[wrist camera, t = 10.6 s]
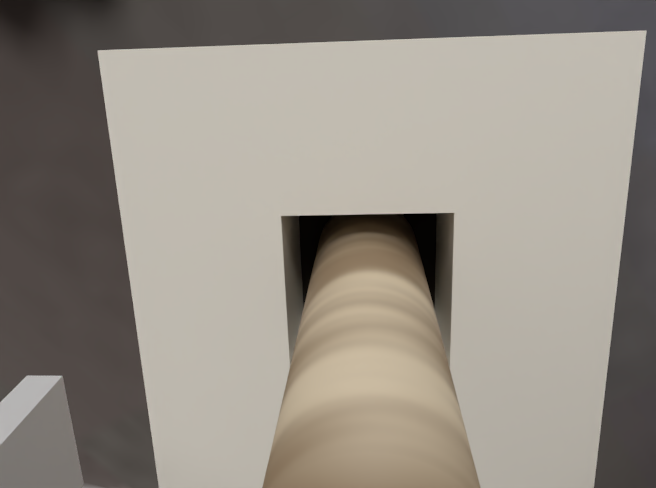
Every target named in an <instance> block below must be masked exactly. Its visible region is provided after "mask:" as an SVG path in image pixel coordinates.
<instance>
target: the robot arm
mask: <svg viewBox="0 0 656 488" xmlns="http://www.w3.org/2000/svg"><path fill="white" fill-rule="evenodd" d="M83 486H84V483H83V478H82V473H81V468H80V463H79V458H78V452H77V447H76V442H75V437H74V432H73V427H72V422H71V417H70V412H69V407H68V402H67V397H66V391H65V386H64V381H63V376H26V377H25V378H24V379H23V380H22V381H21V382H20V383H19V384H18V385H17V386H16V387H15V388H14V389H13V390H12V391H11V392H10V393H9V394H8V395H7V396H6V397H5V398H4V399H3V400H2V401H1V402H0V488H82V487H83Z"/></svg>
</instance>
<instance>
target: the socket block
mask: <svg viewBox="0 0 656 488" xmlns="http://www.w3.org/2000/svg"><path fill="white" fill-rule="evenodd" d="M645 39H646V31H620V32H592V33H565V34H537V35H510V36H482V37H454V38H427V39H399V40H372V41H344V42H316V43H289V44H261V45H233V46H206V47H178V48H151V49H123V50H98V57H99V64H100V71H101V79H102V86H103V93H104V100H105V107H106V114H107V121H108V128H109V135H110V143H111V150H112V157H113V164H114V171H115V178H116V185H117V192H118V199H119V207H120V214H121V221H122V228H123V235H124V242H125V249H126V256H127V263H128V271H129V278H130V285H131V292H132V299H133V306H134V313H135V320H136V327H137V334H138V342H139V349H140V356H141V363H142V370H143V377H144V384H145V391H146V398H147V406H148V413H149V420H150V427H151V434H152V441H153V448H154V455H155V462H156V470H157V477H158V484H159V488H262V487H263V483H264V478H265V474H266V469H267V465H268V461H269V456H270V452H271V448H272V443H273V439H274V435H275V430H276V426H277V422H278V417H279V413H280V409H281V404H282V400H283V396H284V391H285V387H286V383H287V378H288V374H289V369H290V365H291V361H292V356H293V352H294V348H295V343H296V339H297V335H298V330H299V326H300V322H301V317H302V313H303V309H304V307H303V287H302V267H301V248H300V228H299V216H304V215H359V214H414V213H436V260H435V309H434V310H435V314H436V318H437V322H438V326H439V329H440V333H441V337H442V341H443V345H444V349H445V352H446V356H447V360H448V364H449V368H450V372H451V376H452V379H453V383H454V387H455V391H456V395H457V399H458V403H459V406H460V410H461V414H462V418H463V422H464V426H465V430H466V433H467V437H468V441H469V445H470V449H471V453H472V457H473V460H474V464H475V468H476V472H477V476H478V480H479V484H480V487H481V488H594V481H595V472H596V464H597V455H598V446H599V438H600V429H601V420H602V412H603V403H604V394H605V386H606V377H607V368H608V360H609V351H610V342H611V334H612V325H613V316H614V308H615V299H616V290H617V282H618V273H619V264H620V255H621V247H622V238H623V229H624V221H625V212H626V203H627V195H628V186H629V177H630V169H631V160H632V151H633V143H634V134H635V125H636V117H637V108H638V99H639V91H640V82H641V73H642V65H643V56H644V47H645Z"/></svg>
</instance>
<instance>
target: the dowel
mask: <svg viewBox="0 0 656 488" xmlns="http://www.w3.org/2000/svg"><path fill="white" fill-rule="evenodd" d="M262 488H481V487H480V484H479V480H478V476H477V472H476V468H475V464H474V460H473V457H472V453H471V449H470V445H469V441H468V437H467V433H466V430H465V426H464V422H463V418H462V414H461V410H460V406H459V403H458V399H457V395H456V391H455V387H454V383H453V379H452V376H451V372H450V368H449V364H448V360H447V356H446V352H445V349H444V345H443V341H442V337H441V333H440V329H439V326H438V322H437V318H436V314H435V310H434V306H433V302H432V299H431V295H430V291H429V287H428V283H427V279H426V275H425V272H424V268H423V264H422V260H421V256H420V252H419V248H418V245H417V241H416V237H415V234H414V231H413V229H412V227H411V225H410V223H409V222H408V221H407V219H406V218H405V217H404V216H403V215H402V214H359V215H332V216H331V218H330V219H329V220H328V221H327V223H326V224H325V226H324V228H323V230H322V232H321V235H320V239H319V243H318V248H317V252H316V256H315V261H314V265H313V269H312V274H311V278H310V283H309V287H308V291H307V296H306V300H305V304H304V309H303V313H302V317H301V322H300V326H299V330H298V335H297V339H296V343H295V348H294V352H293V356H292V361H291V365H290V369H289V374H288V378H287V383H286V387H285V391H284V396H283V400H282V404H281V409H280V413H279V417H278V422H277V426H276V430H275V435H274V439H273V443H272V448H271V452H270V456H269V461H268V465H267V469H266V474H265V478H264V483H263V487H262Z"/></svg>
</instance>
